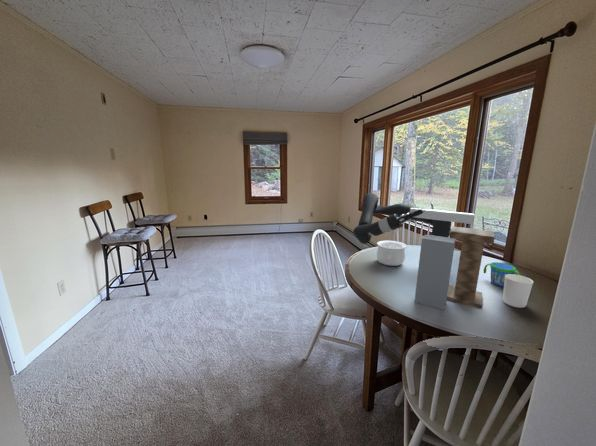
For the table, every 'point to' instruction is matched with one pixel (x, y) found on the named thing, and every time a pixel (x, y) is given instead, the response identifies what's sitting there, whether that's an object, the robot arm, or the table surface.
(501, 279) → the snack cup
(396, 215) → the robot arm
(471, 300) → the walnut pedestal
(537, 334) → the table surface
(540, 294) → the table surface
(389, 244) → the pot
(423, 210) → the aluminium bar
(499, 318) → the table surface
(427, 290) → the slate plinth
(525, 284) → the candle holder
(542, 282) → the table surface
